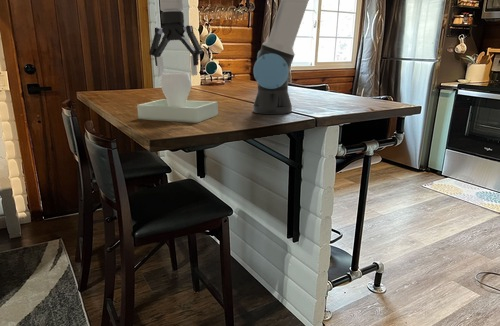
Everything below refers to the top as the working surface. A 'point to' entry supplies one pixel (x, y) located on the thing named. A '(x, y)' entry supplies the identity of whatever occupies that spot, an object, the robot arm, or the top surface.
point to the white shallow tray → (178, 111)
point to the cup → (176, 88)
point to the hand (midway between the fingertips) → (177, 75)
